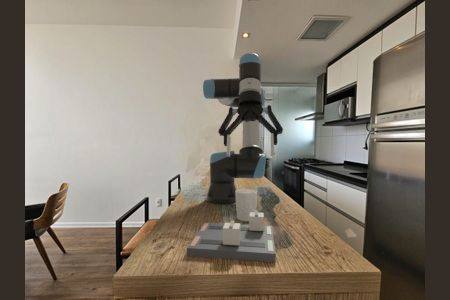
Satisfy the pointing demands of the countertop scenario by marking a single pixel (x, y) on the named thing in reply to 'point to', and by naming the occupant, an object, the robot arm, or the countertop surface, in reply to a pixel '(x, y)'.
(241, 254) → the switch panel
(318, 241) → the countertop surface
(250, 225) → the block
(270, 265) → the countertop surface
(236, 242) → the breaker
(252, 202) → the white cup
